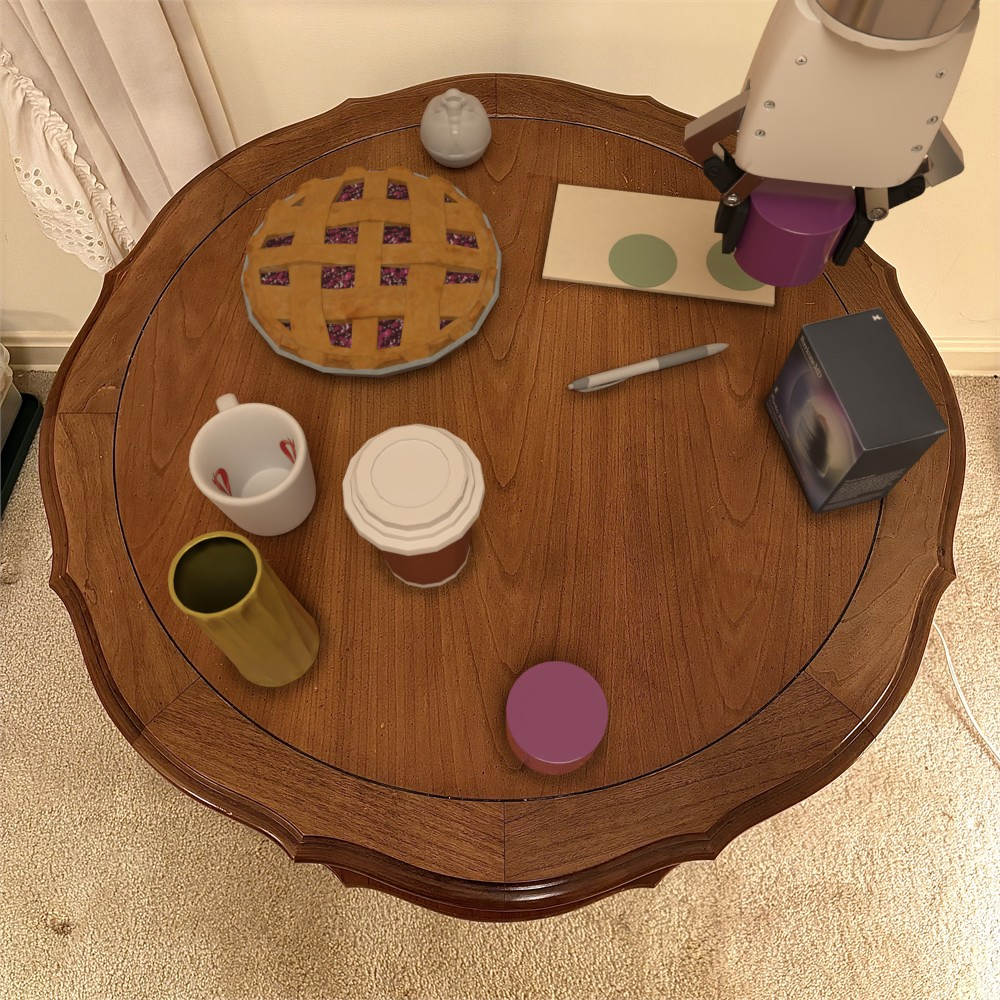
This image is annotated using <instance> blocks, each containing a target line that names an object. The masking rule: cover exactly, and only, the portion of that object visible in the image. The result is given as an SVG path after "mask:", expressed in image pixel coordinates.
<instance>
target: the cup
mask: <svg viewBox="0 0 1000 1000" xmlns="http://www.w3.org/2000/svg"><path fill="white" fill-rule="evenodd" d="M215 403H216V407H217V409H218V413H217V414H215V415H213V416H212V417H211V418H210V419H208V420H207V421H206V422H205V423H204V424H203V425H202V427H200V429H199V430H198V432H197V433H196V435H195V437H194V439H193V440H192V443H191V446H190V450H189V457H188V467H189V471H190V475H191V477H192V480H193V483H194V484H195V486H196V487H197V488H198V490H199V491H200V492H201V493H202V494H203V495H204V496H205V497H206V498H208V499H209V500H210V501H211V502H212V503H213V504H214V505H215V506H216V507H217V508H218V509H219V510H220V511H222V513H223V514H225V515H226V516H227V518H229V519H230V520H231V521H232V522H233V523H234V524H235V525H236V526H238V528H241V529H242V530H243V531H246V532H248V533H250V534H253V535H257V536H262V537H274V536H280V535H283V534H286V533H289V532H291V531H293V530H294V529H296V528H297V527H299V526H300V525H301V524H302V523H303V522H304V521H305V520H306V519H307V518H308V516H309V515H310V513H311V512H312V509H313V507H314V505H315V501H316V497H317V496H316V495H317V494H316V493H317V483H316V477H315V475H314V471H313V464H312V461H311V460H312V459H311V455H310V451H309V447H308V443H307V438H306V434H305V432H304V430H303V428H302V427H301V425H300V423H299V422H298V421H297V420H296V418H294V416H292V415H291V414H290V413H288V412H287V411H286V410H284V409H282V408H280V407H278V406H276V405H272V404H269V403H263V402H262V403H261V402H248V403H247V402H246V403H241V404H240V402H239V400H238V398H237V397H236V395H235V394H234V393H229V392H228V393H226V394H222V395H221V396H219V397H217V399H216V402H215Z"/></svg>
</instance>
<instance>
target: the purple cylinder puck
mask: <svg viewBox="0 0 1000 1000" xmlns="http://www.w3.org/2000/svg"><path fill="white" fill-rule="evenodd" d="M855 208H856V196H855V192H854V186H845V185H835V184H824V183H814V182H805V181H795V180H786V179H778V178H769V177H767V178H766V179H765V180H764V181H763V182H762V183H761V184H760V185H759V186H758V187H757V188H756V189H755V190H754V191H753V192H752V193H751V194H750V195H749V196H748V213H747V216H746V219H745V222H744V225H743V228H742V231H741V233H740V236H739V239H738V242H737V245H736V247H735V250H734V253H733V252H732V254H733V256H734V259H735V260H736V262H737V264H738V265H739V266H740V268H741V269H742V270H743V271H744V272H745V273H747V274H748V275H749V276H751V277H752V278H754V279H755V280H758V281H760V282H762V283H765V284H767V285H771V286H775V288H797V287H801V286H805V285H808V284H810V283H812V282H813V281H815V280H817V279H818V278H819V277H821V275H822V274H823V273H824V272H825V271H826V269H827V267H828V265H829V264H830V262H831V260H832V255H833V253H834V251H835V250H836V248H837V246H838V244H839V242H840V240H841V238H842V236H843V234H844V232H845V230H846V228H847V226H848V224H849V222H850V220H851V218H852V216H853V214H854V211H855Z"/></svg>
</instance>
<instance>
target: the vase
mask: <svg viewBox="0 0 1000 1000" xmlns="http://www.w3.org/2000/svg"><path fill="white" fill-rule="evenodd" d="M167 586H168V591H169V596H170V598H171V600H172V601H173V603H174V604H175V605H176V606H177V608H178V609H179V611H181V612H182V613H183V614H184V616H186V618H188V619H189V620H190V621H192V622H193V624H195V625H196V626H197V627H198V628H199V629H200V630H202V632H203V633H204V634H205V636H207V637H208V638H209V639H210V640H211V642H213V644H214V645H215V646H216V647H218V649H220V650H221V651H222V652H223V653H224V654H225V656H226V657H227V658H228V659H229V661H231V663H232V664H233V665H234V667H236V669H237V670H238V672H239V673H240V675H242V677H244V679H246V680H247V681H249V682H250V683H253V684H254V685H256V686H260V687H265V688H278V687H282V686H286V685H288V684H291V683H293V682H295V681H296V680H298V679H299V678H301V677H302V676H304V675H305V674H306V673H307V671H309V670H310V668H311V667H312V665H314V662H315V661H316V658H317V656H318V653H319V649H320V643H321V640H320V639H321V637H320V632H319V629H318V625H317V623H316V620H315V618H314V617H313V616H312V615H311V614H310V613H309V612H308V611H307V610H306V609H305V608H304V607H303V605H302V604H301V603H300V602H299V601H298V599H296V597H295V596H294V595H293V594H292V592H290V590H289V589H288V588H287V586H286V585H285V584H284V583H283V582H282V580H281V579H280V577H278V575H277V574H276V572H275V571H274V569H273V568H272V567H271V565H270V563H269V562H268V561H267V560H266V558H265V557H264V556H263V554H262V552H261V551H260V550H259V549H258V548H257V547H256V546H255V545H254V544H253V543H252V542H251V541H250V540H249V539H248V538H247V537H245V536H244V535H242V534H239V533H236V532H232V531H226V530H218V531H217V530H216V531H210V532H207V533H203V534H200V535H198V536H196V537H194V538H193V539H191V540H189V541H188V542H187V543H186V544H184V545H183V547H181V548H180V550H179V551H178V552H177V553H176V554H175V556H174V557H173V559H172V560H171V563H170V567H169V570H168V574H167Z"/></svg>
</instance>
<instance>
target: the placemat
mask: <svg viewBox="0 0 1000 1000" xmlns="http://www.w3.org/2000/svg"><path fill="white" fill-rule="evenodd" d="M719 203H720V201H713V200H707V199H706V200H705V199H697V198H688V197H680V196H679V197H678V196H669V195H661V194H653V193H643V192H635V191H625V190H618V189H617V190H616V189H607V188H600V187H589V186H583V185H574V184H564V183H558V185H557V189H556V196H555V201H554V206H553V213H552V219H551V224H550V229H549V236H548V241H547V247H546V252H545V257H544V264H543V268H542V269H543V270H542V275H541V279H542V280H543V279H544V280H551V281H559V282H569V283H575V284H583V285H592V286H600V287H609V288H617V289H626V290H634V291H641V292H651V293H659V294H666V295H675V296H682V297H689V298H690V297H692V298H699V299H707V300H714V301H715V300H717V301H723V302H732V303H741V304H749V305H756V306H765V307H772V308H773V307H774V306H775V298H776V297H775V296H776V295H775V292H776V291H775V290H776V289H775V288H776V286H771V285H767V284H765V283H762V282H760V281H758V280H755V279H754V278H752V277H751V276H749V275H748V274H747V273H745V272H744V271H743V270H742V269H741V268H740V266H739V265H738V264H737V262H736V260H735V259H734V256H733V254H732V252H731V254H722V233H714V224H715V217H716V212H717V209H718V206H719Z"/></svg>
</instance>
